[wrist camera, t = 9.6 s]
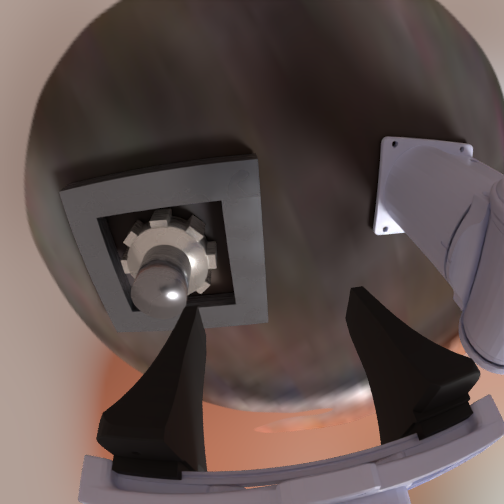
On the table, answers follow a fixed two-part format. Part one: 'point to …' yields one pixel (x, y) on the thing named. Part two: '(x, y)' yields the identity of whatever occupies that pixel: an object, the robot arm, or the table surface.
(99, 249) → the carrier plate
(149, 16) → the table surface
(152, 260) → the planet gear
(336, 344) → the table surface
